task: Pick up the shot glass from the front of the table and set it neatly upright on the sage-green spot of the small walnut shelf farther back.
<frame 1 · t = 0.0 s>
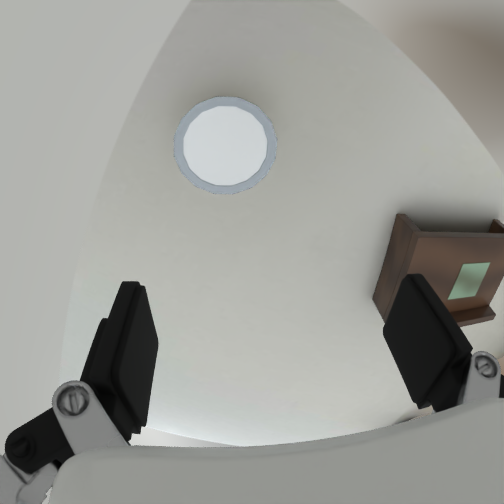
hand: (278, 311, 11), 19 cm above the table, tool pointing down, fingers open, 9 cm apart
shelf: (441, 258, 35), on the table
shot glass: (225, 128, 25), on the table
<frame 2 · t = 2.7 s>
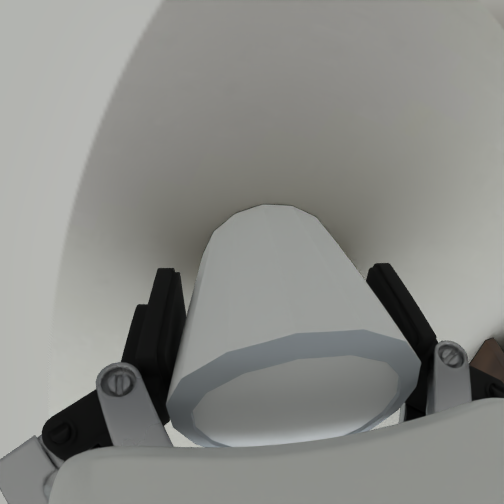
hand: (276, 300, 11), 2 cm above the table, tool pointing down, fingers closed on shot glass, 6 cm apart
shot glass: (269, 263, 13), on the table, touching gripper
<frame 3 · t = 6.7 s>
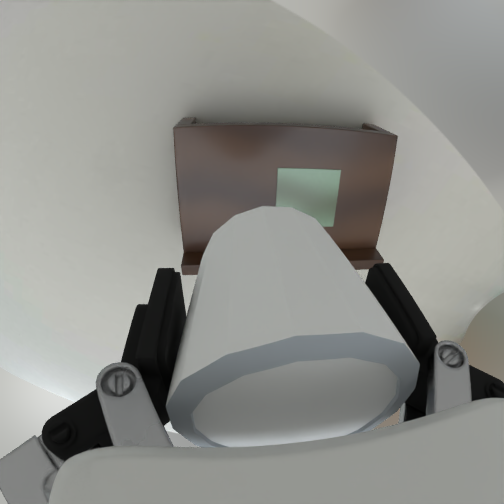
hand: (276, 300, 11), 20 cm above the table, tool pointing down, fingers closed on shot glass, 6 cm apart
shelf: (280, 178, 29), on the table
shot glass: (269, 264, 13), point 17 cm above the table, touching gripper
when the fingers open (7 cm above the table, at t = 10.6 s): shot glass stays where it is, resting on shelf.
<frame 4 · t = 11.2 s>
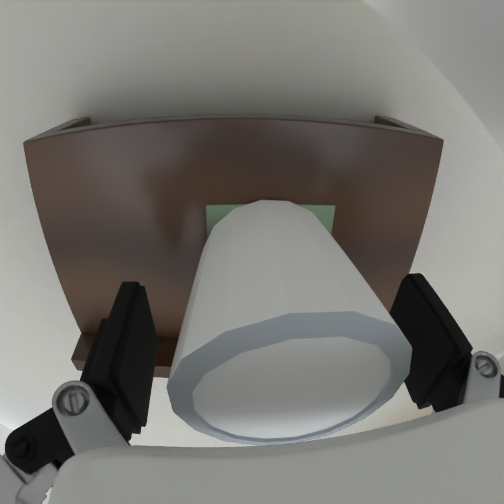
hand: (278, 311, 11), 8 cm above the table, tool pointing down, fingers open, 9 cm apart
shelf: (232, 210, 18), on the table
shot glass: (267, 257, 14), point 5 cm above the table, touching shelf
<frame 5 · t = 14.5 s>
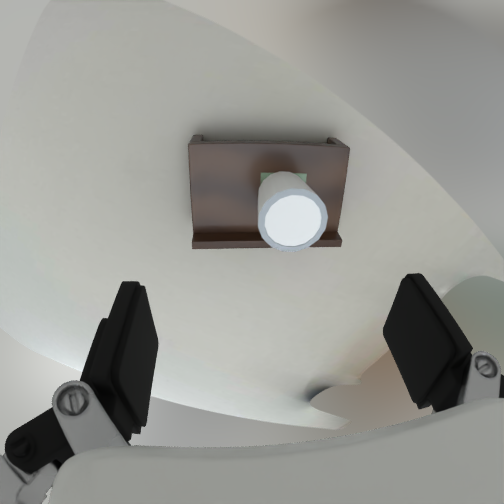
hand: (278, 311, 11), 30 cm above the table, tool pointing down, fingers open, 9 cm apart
shelf: (264, 179, 40), on the table
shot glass: (282, 193, 36), point 5 cm above the table, touching shelf
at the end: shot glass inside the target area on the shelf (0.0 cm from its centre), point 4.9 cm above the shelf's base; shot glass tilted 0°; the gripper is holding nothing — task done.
